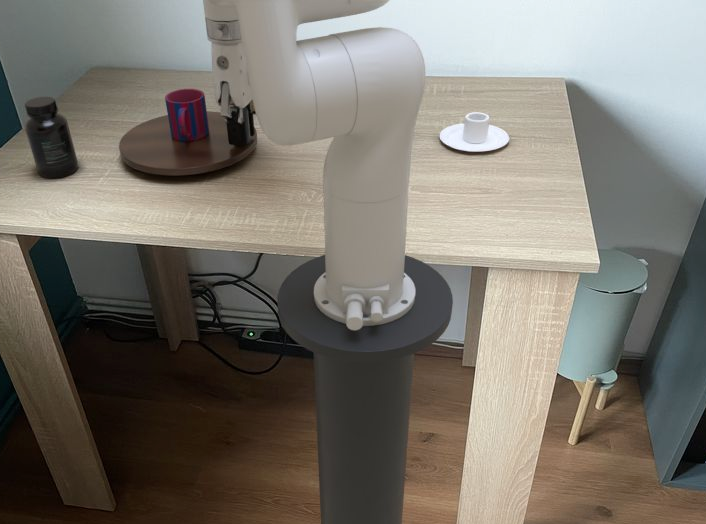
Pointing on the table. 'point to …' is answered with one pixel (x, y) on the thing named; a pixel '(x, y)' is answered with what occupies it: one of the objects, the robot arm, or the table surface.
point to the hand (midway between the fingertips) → (241, 138)
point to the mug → (187, 114)
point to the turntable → (183, 147)
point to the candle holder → (474, 134)
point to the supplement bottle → (49, 138)
